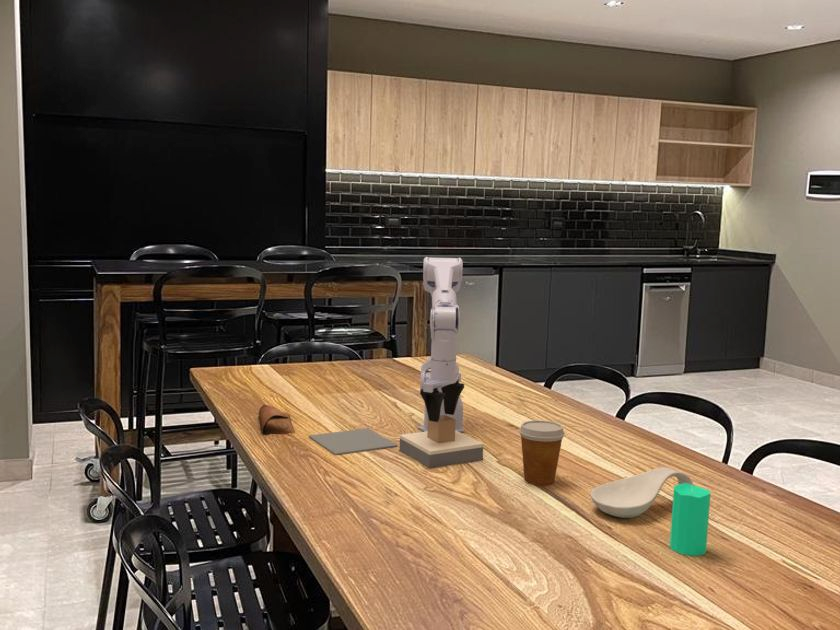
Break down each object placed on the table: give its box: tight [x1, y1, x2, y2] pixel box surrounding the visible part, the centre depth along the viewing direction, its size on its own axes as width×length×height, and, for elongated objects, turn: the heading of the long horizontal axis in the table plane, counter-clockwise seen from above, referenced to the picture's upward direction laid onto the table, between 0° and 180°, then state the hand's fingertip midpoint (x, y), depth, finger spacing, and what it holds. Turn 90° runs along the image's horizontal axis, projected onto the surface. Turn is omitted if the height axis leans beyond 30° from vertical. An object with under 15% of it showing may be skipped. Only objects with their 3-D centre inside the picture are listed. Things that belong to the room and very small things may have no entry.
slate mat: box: [308, 427, 398, 456], centre depth 200 cm, size 16×16×1 cm
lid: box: [399, 415, 484, 455], centre depth 191 cm, size 14×14×6 cm
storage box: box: [399, 438, 484, 469], centre depth 191 cm, size 14×14×3 cm
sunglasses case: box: [258, 404, 296, 436], centre depth 213 cm, size 18×7×7 cm
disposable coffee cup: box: [518, 420, 566, 487], centre depth 175 cm, size 10×10×12 cm
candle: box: [669, 480, 711, 557], centre depth 142 cm, size 6×6×12 cm
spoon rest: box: [590, 466, 695, 519], centre depth 162 cm, size 24×12×7 cm, turn 119°
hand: (441, 417), depth 190 cm, fingers open, 7 cm apart
